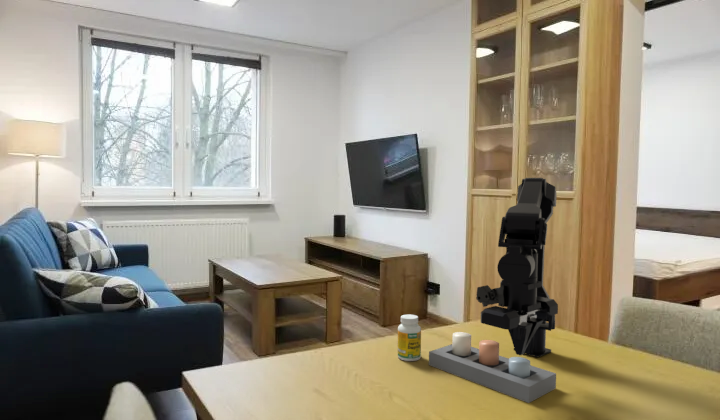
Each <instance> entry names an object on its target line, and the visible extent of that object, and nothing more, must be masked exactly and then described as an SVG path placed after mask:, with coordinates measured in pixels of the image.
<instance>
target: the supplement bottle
mask: <svg viewBox="0 0 720 420" xmlns="http://www.w3.org/2000/svg"><path fill="white" fill-rule="evenodd" d="M418 323H419V316H418V315H416V314H410V313H409V314H403V315H401V316H400V324H399V325H398V327H397V357H398V359H399V360H401V361H405V362H416V361H418V360H420V359H421V357H422V354H421V353H422V327H421V326H420V325H419V324H418Z"/></svg>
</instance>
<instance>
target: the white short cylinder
mask: <svg viewBox="0 0 720 420" xmlns="http://www.w3.org/2000/svg"><path fill="white" fill-rule="evenodd" d="M451 341H452V343H451V344H452V353H453V354H455V355H459V356H468V355H470V354H471V347H472V334H470V333H469V332H466V331H465V332H462V331H456V332H453V333H452V340H451Z"/></svg>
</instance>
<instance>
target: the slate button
mask: <svg viewBox="0 0 720 420" xmlns="http://www.w3.org/2000/svg"><path fill="white" fill-rule="evenodd" d="M530 365H531V360H530V359H528V358H525V357H521V356H511V357H509V374H510V375H513V376H516V377H519V378H522V379H525V378H527V377H530Z"/></svg>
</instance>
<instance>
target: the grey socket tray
mask: <svg viewBox="0 0 720 420" xmlns="http://www.w3.org/2000/svg"><path fill="white" fill-rule="evenodd" d="M509 358H510V357H509ZM509 358H508V357H506V356H502V355H499V364H497V365H485V364H482V363H480V362H479V348H476V347H473V346H471V354H470V355H468V356H459V355H455V354H453V353H452V343H451V344H449V345H446V346H445V345H444V346H442V347H439V348H436V349H434V350H430V351H428V366H430V367H433V368H435V369H438V370H441V371H444V372H447V373H449V374H452V375H454V376H457V377H459V378H462V379H464V380H466V381H467V380H468V381H469V382H473V383H475V384H478V385H480V386H484V387H486V388H489V389H490V390H494V391H496V392H499V393H501V394H504V395H506V396H508V397H512V398H514V399H517V400H520V401H523V402H524V403H528V404H530V403H532V402H533V401H535V400H537V399H539V398H541V397H543V396H544V395H546V394H548V393H550V392H552V391H554V390H555V389H556V388H557V387H556V386H557V385H556V384H557V372H553V371H550V370H547V369H543V368H540V367H537V366H533V365H531V364H530V377H527V378H525V379H522V378H519V377H516V376H513V375H510V374H509Z"/></svg>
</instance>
